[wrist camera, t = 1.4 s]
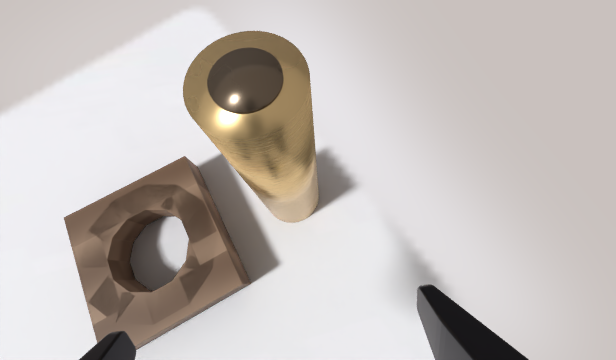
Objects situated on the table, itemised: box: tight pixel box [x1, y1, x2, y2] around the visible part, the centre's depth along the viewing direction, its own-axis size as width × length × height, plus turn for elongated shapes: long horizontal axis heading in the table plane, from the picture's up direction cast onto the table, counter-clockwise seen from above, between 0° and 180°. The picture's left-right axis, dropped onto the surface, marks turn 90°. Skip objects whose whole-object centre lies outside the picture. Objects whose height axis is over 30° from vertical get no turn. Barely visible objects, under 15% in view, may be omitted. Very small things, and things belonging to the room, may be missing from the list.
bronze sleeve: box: [183, 31, 319, 223], centre depth 17 cm, size 4×4×15 cm
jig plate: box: [64, 156, 251, 350], centre depth 22 cm, size 11×10×2 cm
